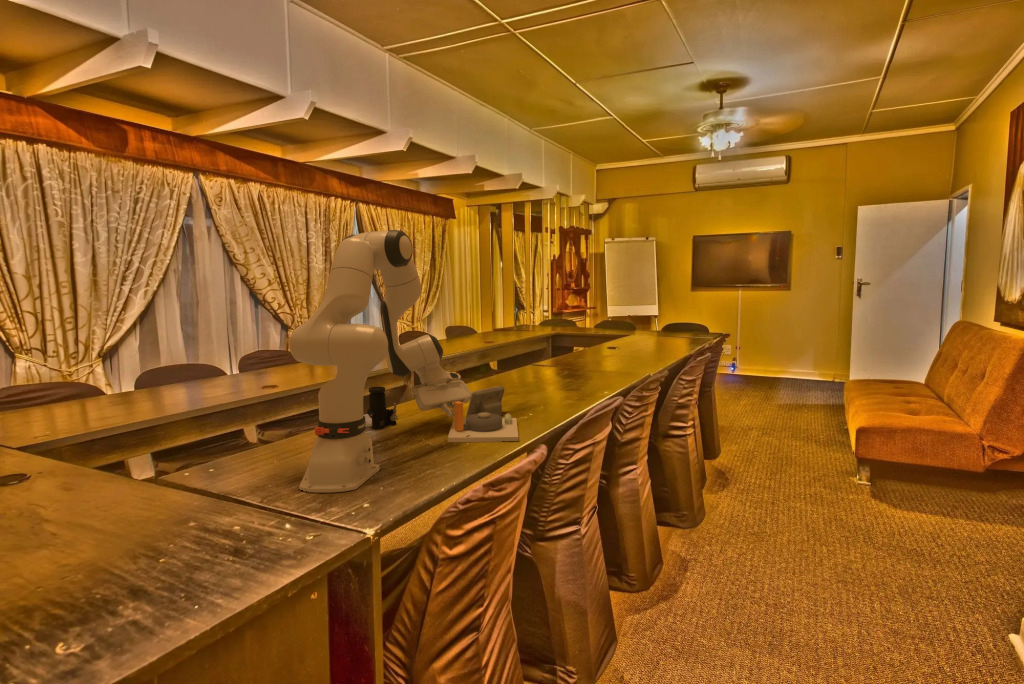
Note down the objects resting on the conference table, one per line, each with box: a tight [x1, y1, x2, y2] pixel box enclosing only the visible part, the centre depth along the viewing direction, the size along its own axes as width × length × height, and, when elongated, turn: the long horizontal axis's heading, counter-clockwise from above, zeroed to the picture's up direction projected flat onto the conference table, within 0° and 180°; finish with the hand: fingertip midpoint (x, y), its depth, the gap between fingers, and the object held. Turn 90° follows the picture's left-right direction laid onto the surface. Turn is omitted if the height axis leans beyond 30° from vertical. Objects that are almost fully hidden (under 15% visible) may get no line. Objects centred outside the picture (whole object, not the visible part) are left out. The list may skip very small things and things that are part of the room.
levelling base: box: [447, 412, 519, 443], centre depth 181 cm, size 24×22×4 cm
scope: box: [367, 386, 399, 430], centre depth 187 cm, size 8×14×10 cm
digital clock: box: [466, 385, 505, 417], centre depth 202 cm, size 16×9×11 cm, turn 125°
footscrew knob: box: [453, 401, 503, 431], centre depth 180 cm, size 16×12×9 cm
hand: (453, 415), depth 180 cm, fingers closed
